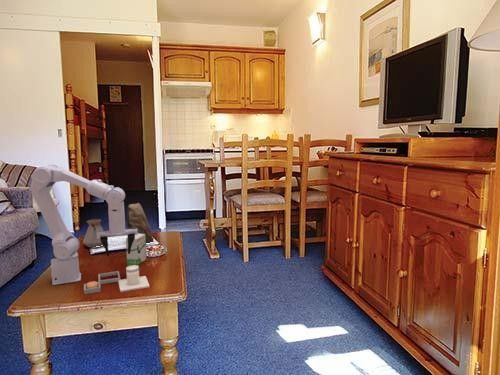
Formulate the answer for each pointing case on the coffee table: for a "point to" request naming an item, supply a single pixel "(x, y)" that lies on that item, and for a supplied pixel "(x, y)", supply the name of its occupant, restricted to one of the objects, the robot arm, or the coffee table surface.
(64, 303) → the coffee table surface
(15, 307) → the coffee table surface
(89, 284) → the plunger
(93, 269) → the coffee table surface
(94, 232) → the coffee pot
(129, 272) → the cartridge
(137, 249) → the ink box
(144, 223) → the brown tapered rock
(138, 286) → the mat
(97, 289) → the dock
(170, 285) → the coffee table surface
